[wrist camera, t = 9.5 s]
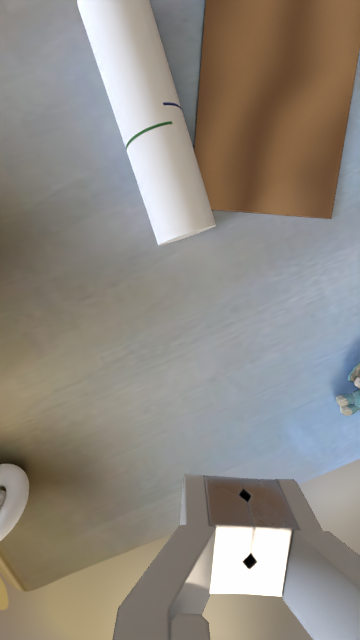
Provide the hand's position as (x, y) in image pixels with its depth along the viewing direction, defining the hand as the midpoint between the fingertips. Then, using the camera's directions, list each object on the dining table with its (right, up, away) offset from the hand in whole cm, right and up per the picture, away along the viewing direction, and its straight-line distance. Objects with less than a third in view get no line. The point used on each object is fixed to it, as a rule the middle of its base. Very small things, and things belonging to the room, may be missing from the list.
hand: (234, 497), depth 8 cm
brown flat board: (+10, +33, +28) cm, 44 cm away
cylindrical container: (-1, +15, +28) cm, 32 cm away
